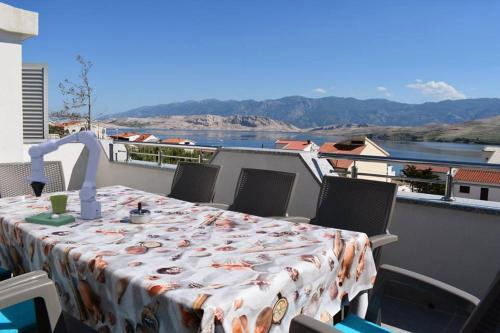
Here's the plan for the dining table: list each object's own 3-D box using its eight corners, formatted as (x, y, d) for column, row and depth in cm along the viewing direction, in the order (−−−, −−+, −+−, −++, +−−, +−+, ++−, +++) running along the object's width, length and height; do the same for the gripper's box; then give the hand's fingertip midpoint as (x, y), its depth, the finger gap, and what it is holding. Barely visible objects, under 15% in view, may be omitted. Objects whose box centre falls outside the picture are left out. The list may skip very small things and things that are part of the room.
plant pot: (54, 215, 204) (54, 198, 203) (46, 212, 209) (45, 196, 208) (72, 212, 211) (72, 196, 210) (63, 209, 217) (63, 194, 216)
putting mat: (75, 221, 193) (75, 217, 193) (57, 226, 183) (57, 222, 182) (43, 216, 199) (43, 213, 199) (24, 221, 189) (24, 217, 189)
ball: (61, 215, 191) (56, 211, 192) (56, 218, 188) (51, 214, 188) (59, 221, 192) (54, 217, 193) (54, 223, 189) (48, 219, 190)
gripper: (19, 169, 195) (20, 196, 196) (42, 171, 190) (43, 199, 192) (31, 168, 201) (32, 194, 203) (53, 170, 197) (54, 196, 198)
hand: (38, 196), depth 198 cm, fingers closed
